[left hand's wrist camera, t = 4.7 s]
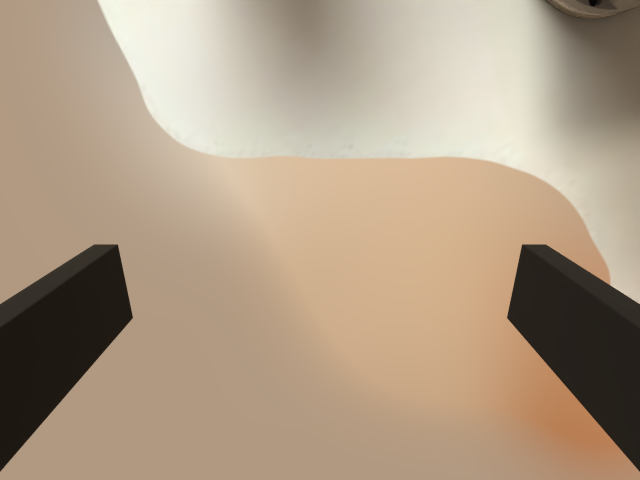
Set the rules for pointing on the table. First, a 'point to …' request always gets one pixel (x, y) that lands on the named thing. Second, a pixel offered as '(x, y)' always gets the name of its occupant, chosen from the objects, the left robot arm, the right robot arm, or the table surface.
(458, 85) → the table surface
